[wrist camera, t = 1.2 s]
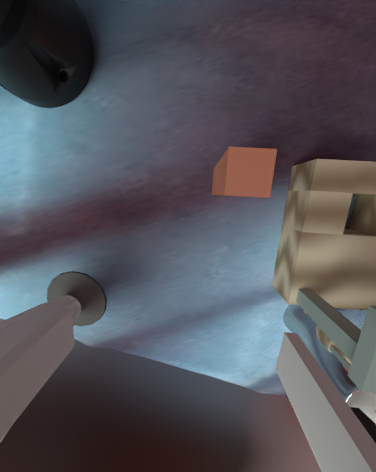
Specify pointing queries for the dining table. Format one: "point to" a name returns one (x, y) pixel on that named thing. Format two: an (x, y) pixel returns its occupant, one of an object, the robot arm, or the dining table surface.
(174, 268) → the dining table surface
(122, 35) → the dining table surface
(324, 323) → the grey toy table
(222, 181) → the peg
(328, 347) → the beer glass
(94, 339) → the dining table surface
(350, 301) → the socket block
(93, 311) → the cup
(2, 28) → the robot arm
